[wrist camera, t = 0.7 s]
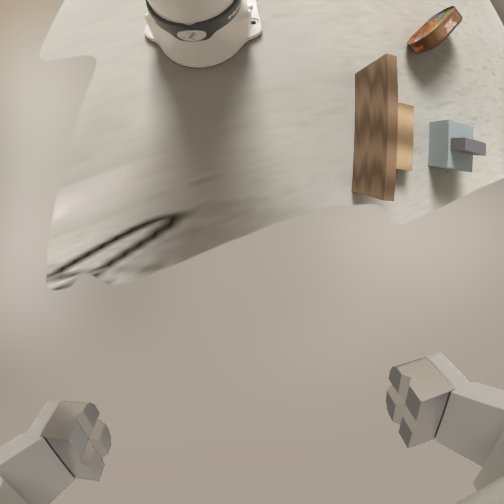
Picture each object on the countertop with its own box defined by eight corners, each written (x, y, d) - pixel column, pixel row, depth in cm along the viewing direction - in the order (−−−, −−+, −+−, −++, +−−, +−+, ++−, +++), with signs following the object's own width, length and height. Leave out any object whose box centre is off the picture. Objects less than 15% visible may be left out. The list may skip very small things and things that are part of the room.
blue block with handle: (429, 122, 47) (463, 118, 38) (453, 128, 48) (487, 126, 38) (428, 165, 50) (461, 168, 40) (452, 169, 50) (486, 174, 40)
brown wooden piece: (355, 73, 45) (386, 53, 33) (404, 84, 45) (442, 70, 34) (351, 191, 50) (383, 200, 39) (401, 195, 51) (440, 205, 39)
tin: (435, 13, 41) (458, -1, 33) (446, 24, 42) (470, 12, 34) (399, 48, 43) (423, 34, 35) (411, 61, 44) (436, 49, 36)
